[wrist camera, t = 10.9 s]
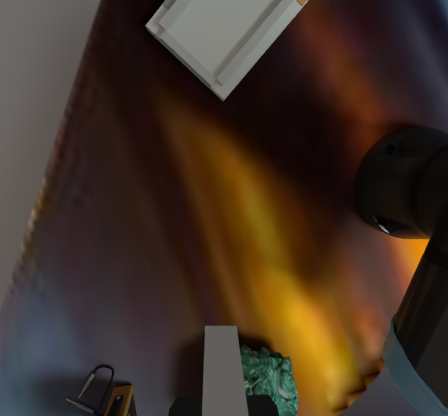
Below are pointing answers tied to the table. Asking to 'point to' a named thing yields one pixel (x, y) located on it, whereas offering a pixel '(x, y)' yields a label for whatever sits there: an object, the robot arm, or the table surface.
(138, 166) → the table surface
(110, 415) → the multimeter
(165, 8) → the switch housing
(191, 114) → the table surface
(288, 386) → the mineral
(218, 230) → the table surface
